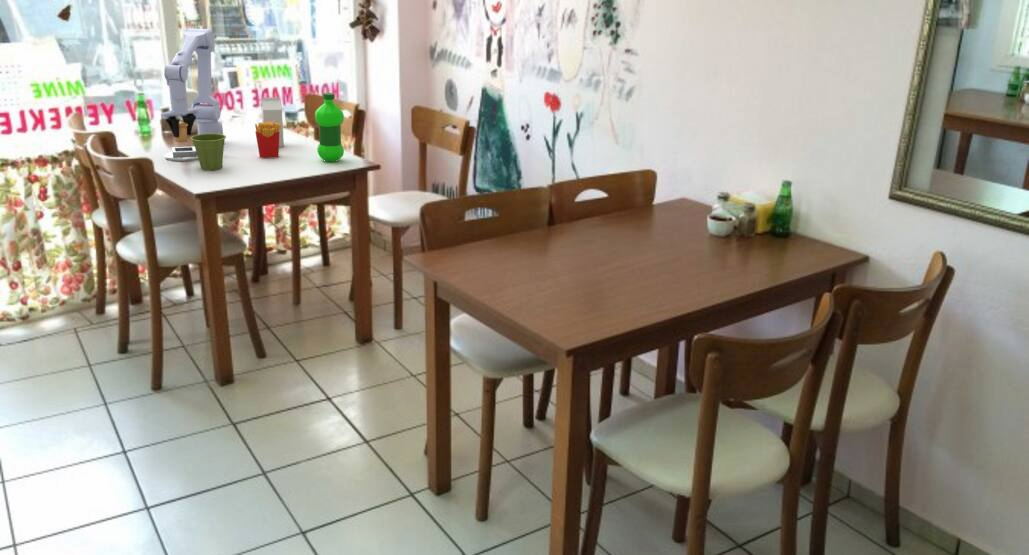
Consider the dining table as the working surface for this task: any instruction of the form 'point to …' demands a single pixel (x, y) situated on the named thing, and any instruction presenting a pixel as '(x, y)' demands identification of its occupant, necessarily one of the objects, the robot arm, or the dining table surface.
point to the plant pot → (209, 150)
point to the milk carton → (273, 114)
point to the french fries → (268, 139)
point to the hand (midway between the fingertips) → (182, 135)
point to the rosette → (182, 154)
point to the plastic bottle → (329, 129)
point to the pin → (182, 132)
